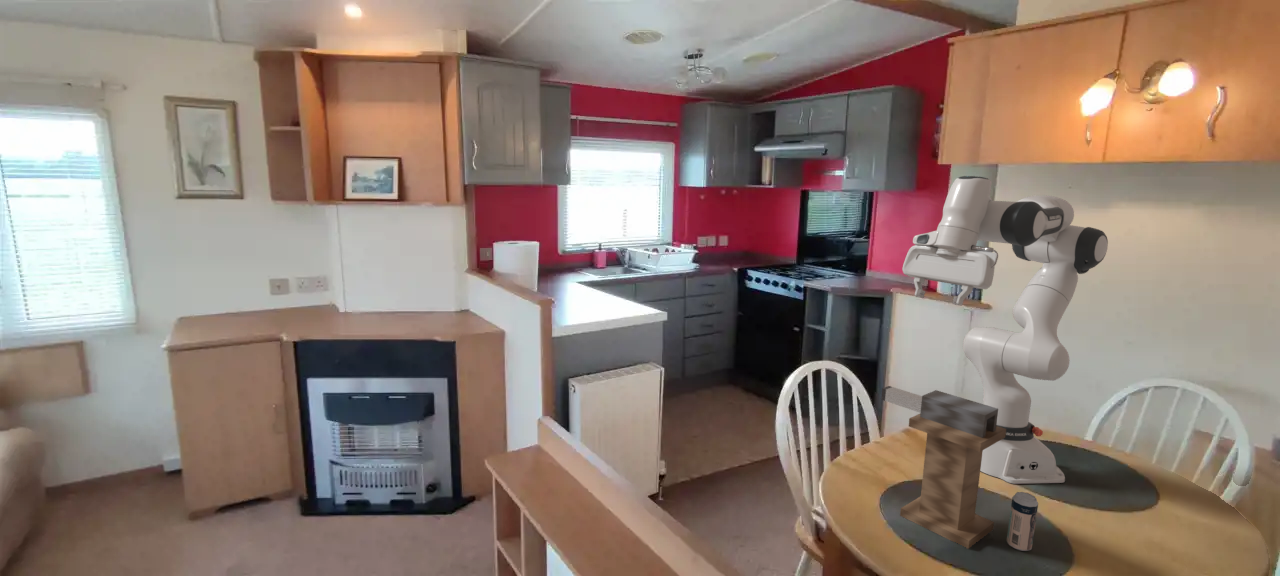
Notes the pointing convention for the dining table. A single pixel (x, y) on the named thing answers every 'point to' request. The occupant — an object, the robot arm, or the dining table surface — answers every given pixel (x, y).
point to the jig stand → (953, 466)
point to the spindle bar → (902, 398)
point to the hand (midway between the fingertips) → (937, 300)
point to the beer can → (1022, 521)
